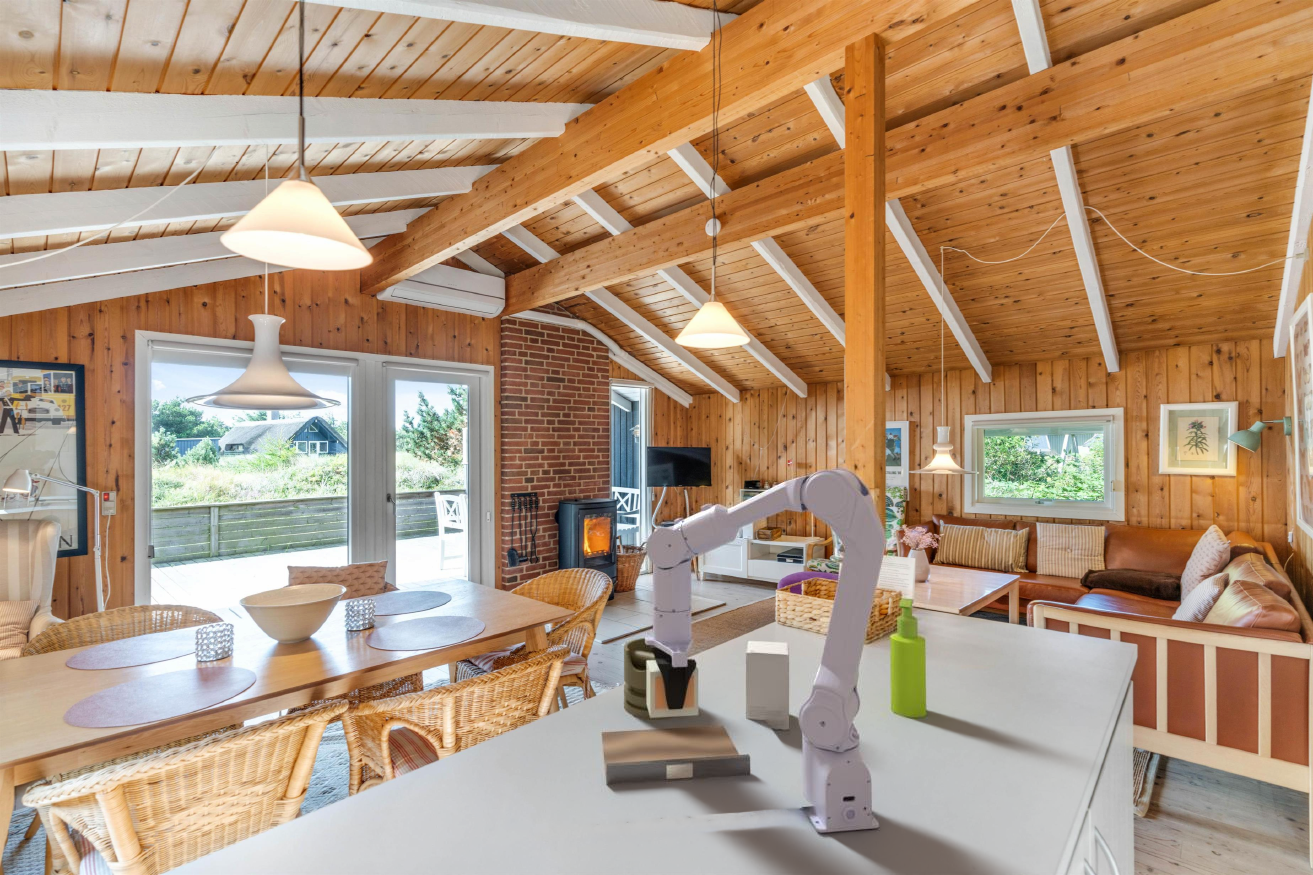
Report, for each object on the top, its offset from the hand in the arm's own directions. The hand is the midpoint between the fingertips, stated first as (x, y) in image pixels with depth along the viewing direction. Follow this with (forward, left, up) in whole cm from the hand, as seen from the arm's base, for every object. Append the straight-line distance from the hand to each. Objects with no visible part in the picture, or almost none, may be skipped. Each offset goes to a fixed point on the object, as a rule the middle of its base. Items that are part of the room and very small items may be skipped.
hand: (672, 700), depth 92 cm
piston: (+19, 0, -10) cm, 22 cm away
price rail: (-6, 0, -8) cm, 10 cm away
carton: (0, 0, -1) cm, 1 cm away
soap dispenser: (+14, -45, -10) cm, 48 cm away
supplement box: (+14, -19, -10) cm, 26 cm away
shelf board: (+2, 0, -10) cm, 10 cm away
